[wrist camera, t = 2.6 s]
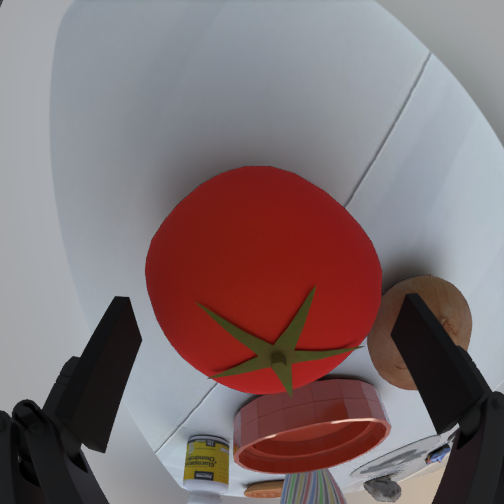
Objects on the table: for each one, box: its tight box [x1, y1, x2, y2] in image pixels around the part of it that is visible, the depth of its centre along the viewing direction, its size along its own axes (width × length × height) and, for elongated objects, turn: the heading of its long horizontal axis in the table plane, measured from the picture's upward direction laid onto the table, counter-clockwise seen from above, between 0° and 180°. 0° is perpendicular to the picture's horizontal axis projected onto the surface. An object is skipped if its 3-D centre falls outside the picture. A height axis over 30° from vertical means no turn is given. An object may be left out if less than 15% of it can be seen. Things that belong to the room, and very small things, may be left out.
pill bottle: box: [183, 436, 229, 504], centre depth 29 cm, size 6×6×12 cm
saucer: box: [244, 481, 284, 498], centre depth 50 cm, size 16×16×3 cm
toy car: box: [425, 444, 450, 465], centre depth 56 cm, size 8×15×5 cm, turn 22°
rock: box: [364, 476, 401, 502], centre depth 60 cm, size 16×10×15 cm, turn 26°
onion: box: [367, 275, 472, 390], centre depth 18 cm, size 10×9×10 cm
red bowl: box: [233, 379, 391, 474], centre depth 28 cm, size 19×19×6 cm
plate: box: [351, 435, 441, 478], centre depth 51 cm, size 28×28×1 cm
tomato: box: [145, 166, 382, 398], centre depth 14 cm, size 11×12×10 cm
